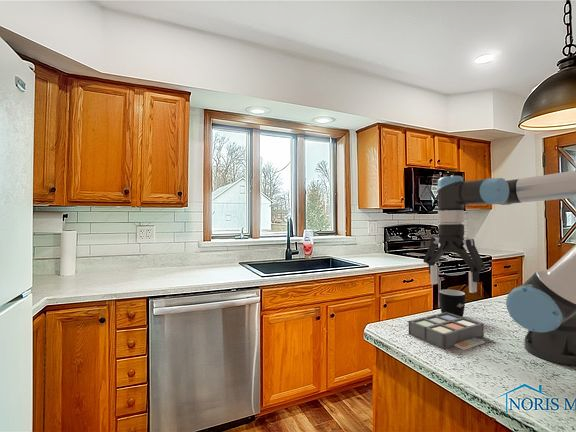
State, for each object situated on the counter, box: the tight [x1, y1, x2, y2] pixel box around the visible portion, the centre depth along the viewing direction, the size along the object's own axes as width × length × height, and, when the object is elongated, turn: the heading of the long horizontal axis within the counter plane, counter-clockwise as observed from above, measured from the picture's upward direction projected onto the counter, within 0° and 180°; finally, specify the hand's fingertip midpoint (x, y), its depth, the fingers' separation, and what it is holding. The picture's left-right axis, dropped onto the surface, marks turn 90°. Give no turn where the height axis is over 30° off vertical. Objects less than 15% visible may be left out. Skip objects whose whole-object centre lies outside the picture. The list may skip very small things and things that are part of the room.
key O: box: [458, 320, 475, 326], centre depth 102 cm, size 4×4×2 cm
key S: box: [431, 326, 452, 333], centre depth 96 cm, size 4×4×2 cm
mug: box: [438, 289, 466, 317], centre depth 119 cm, size 12×9×10 cm
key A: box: [441, 315, 457, 320], centre depth 107 cm, size 4×4×2 cm
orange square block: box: [446, 323, 465, 330], centre depth 99 cm, size 4×4×2 cm
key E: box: [417, 321, 434, 327], centre depth 102 cm, size 4×4×2 cm
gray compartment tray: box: [408, 312, 486, 351], centre depth 100 cm, size 17×20×4 cm
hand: (452, 287), depth 99 cm, fingers open, 13 cm apart
